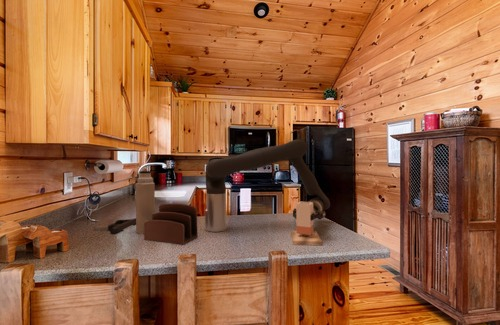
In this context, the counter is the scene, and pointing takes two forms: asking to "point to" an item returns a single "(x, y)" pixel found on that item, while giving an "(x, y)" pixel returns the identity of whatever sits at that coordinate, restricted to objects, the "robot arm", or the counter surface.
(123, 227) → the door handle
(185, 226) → the letter holder
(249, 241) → the counter surface
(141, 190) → the thermos bottle
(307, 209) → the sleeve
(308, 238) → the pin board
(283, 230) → the counter surface
